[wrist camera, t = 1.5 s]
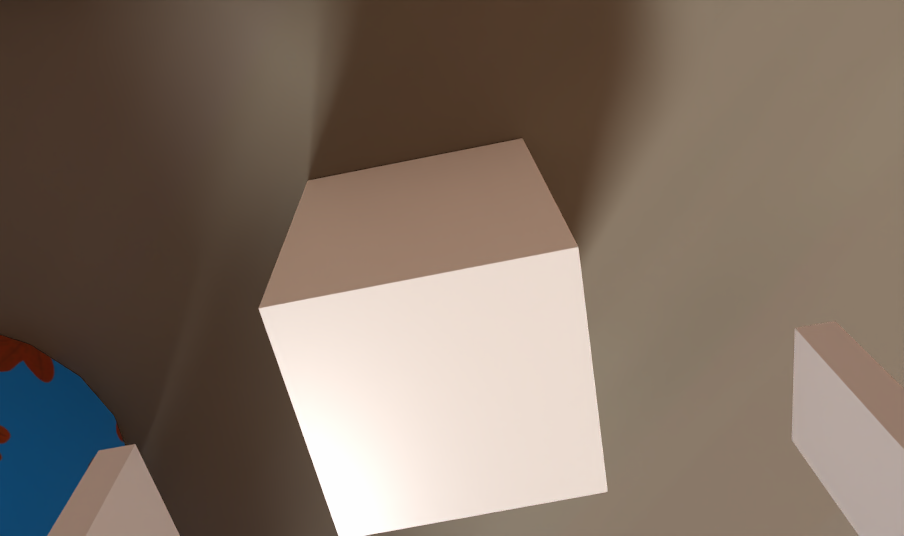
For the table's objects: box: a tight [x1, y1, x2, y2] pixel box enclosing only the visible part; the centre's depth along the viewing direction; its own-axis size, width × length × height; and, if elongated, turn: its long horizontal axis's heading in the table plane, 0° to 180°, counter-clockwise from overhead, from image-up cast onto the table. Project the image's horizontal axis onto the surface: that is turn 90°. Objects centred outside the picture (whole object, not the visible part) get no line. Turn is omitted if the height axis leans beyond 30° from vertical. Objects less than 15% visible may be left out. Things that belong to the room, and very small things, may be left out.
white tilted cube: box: [259, 138, 608, 536], centre depth 19 cm, size 6×6×8 cm
